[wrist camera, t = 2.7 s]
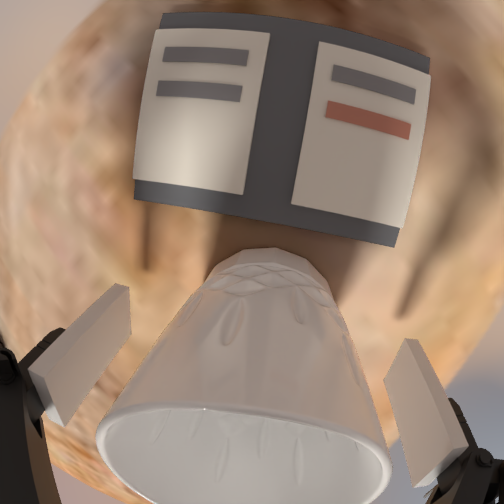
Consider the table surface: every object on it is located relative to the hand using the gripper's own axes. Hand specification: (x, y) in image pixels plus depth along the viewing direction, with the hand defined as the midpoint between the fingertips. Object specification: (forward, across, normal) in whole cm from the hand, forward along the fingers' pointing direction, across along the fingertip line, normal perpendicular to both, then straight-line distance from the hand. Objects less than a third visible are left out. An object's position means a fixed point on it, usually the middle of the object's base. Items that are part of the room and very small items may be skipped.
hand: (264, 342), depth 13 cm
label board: (+2, -1, +10) cm, 10 cm away
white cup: (+2, 0, 0) cm, 3 cm away
